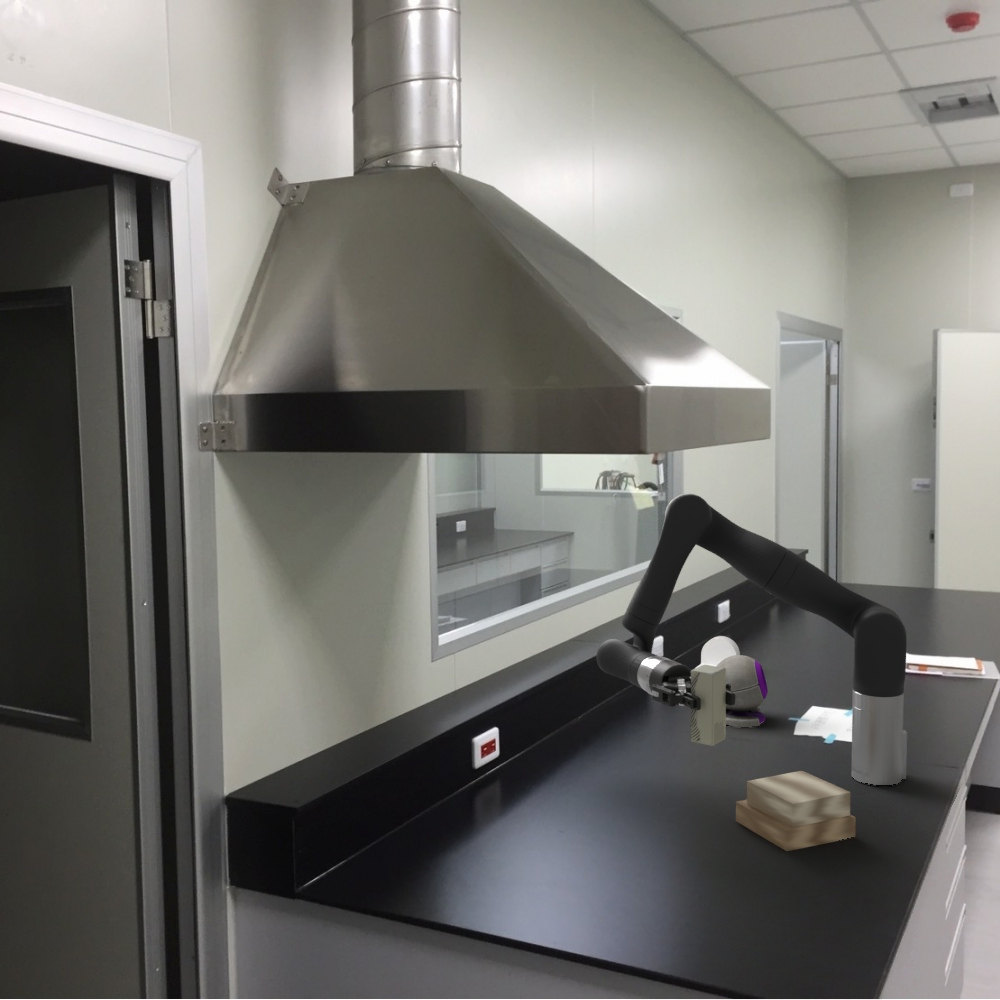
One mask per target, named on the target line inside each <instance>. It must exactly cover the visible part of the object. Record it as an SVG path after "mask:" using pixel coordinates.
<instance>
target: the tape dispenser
mask: <svg viewBox="0 0 1000 1000" xmlns="http://www.w3.org/2000/svg"><path fill="white" fill-rule="evenodd" d="M734 655H741V652H740V648H739V646H738V644H737V643H736V642H735V641H734V640H733V639H731V638H730V637H727V636H725V635H717V636H715V637H713V638H711V639H709V640H708V641H706V643H705V644H704V645H703V646H702V649H701V652H700V664H699V665H697V666H696V667H695V668H694V669H696V668H698V667H700V666H702V665H710V666H717V665H718V664H719V663H720V662H721V661H722V660H724V659H725V658H728V657H730V656H734Z"/></svg>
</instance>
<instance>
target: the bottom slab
mask: <svg viewBox="0 0 1000 1000" xmlns="http://www.w3.org/2000/svg"><path fill="white" fill-rule="evenodd" d="M856 819H857V818H856V816H854V815H852V814H850V816H845V817H841V818H836V819H832V820H827V821H822V822H818V823H813V824H809V825H804V826H800V827H795V828H792V827H791V826H789V825H787V824H785V823H783V822H781V821H779V820H777V819H775V818H773V817H771V816H770V815H768V814H766V813H764V812H762V811H760V810H758V809H756V808H754V807H752V806H751V805H749V804H747V799H743V800H736V801H735V822H737V824H740V825H741V826H743V827H745V828H747V829H748V830H750V831H752V832H753V833H755V834H757V835H759V836H760V837H762V838H764V839H765V840H767V841H768V842H770V843H771V844H774V845H775V846H777V847H778V848H780V849H782V850H784V851H785V852H789V851H795V850H800V849H806V848H809V847H810V848H811V847H815V846H819V845H824V844H828V843H834V842H839V840H840V841H843V840H842V839H844V840H848V839H847V838H849V839H852V838H851V837H854V838H856V824H857V823H856V821H857V820H856Z"/></svg>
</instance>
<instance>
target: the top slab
mask: <svg viewBox="0 0 1000 1000" xmlns="http://www.w3.org/2000/svg"><path fill="white" fill-rule="evenodd" d="M746 800H747V804H749V805H751V806H752V807H754V808H756V809H758V810H760V811H762V812H764V813H766V814H768V815H770V816H771V817H773V818H775V819H777V820H779V821H781V822H783V823H785V824H787V825H789V826H791V827H792V828H795V827H800V826H804V825H809V824H813V823H818V822H822V821H827V820H832V819H836V818H841V817H845V816H850V815H851V791H848V790H846V789H844V788H842V787H840V786H837V785H836V784H834V783H830V782H829V781H827V780H824V779H821V778H820V777H817V776H815V775H812V774H810V773H808V772H806V771H804V770H798V771H793V772H787V773H782V774H777V775H770V776H766V777H761V778H756V779H752V780H746Z"/></svg>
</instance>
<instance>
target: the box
mask: <svg viewBox="0 0 1000 1000" xmlns="http://www.w3.org/2000/svg"><path fill="white" fill-rule="evenodd" d="M695 668H696V667H695ZM695 668H693V669H691V694H693V695H695V696H697V697H699V698H700V699H701V709H700V710H694V709H692V708H690V742H693V743H696V744H701V745H705V746H710V747H712V746H713V747H714V746H715V745H716V744H719V743H720V742H722V741H724V740H726V736H727V735H726V734H727V733H726V732H727V730H726V729H727V726H726V668H723V667H716V666H710V665H702V666H700V667H698V668H696V669H695Z"/></svg>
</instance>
